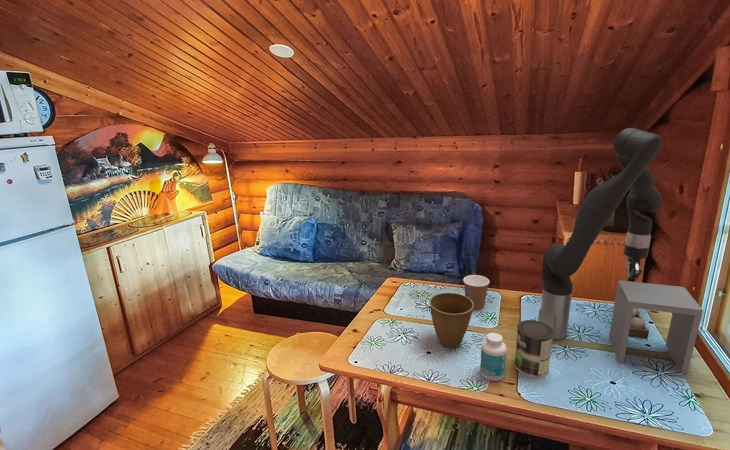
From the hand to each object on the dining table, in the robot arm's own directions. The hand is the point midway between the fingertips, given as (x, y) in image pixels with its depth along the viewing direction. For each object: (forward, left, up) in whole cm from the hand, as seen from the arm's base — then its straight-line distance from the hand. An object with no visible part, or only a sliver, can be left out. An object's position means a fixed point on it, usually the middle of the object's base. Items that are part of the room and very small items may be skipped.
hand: (630, 285), depth 149 cm
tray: (-10, -8, -11) cm, 17 cm away
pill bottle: (-72, 0, -11) cm, 73 cm away
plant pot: (-72, +20, -11) cm, 76 cm away
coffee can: (-59, -4, -11) cm, 60 cm away
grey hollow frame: (-23, -19, -11) cm, 32 cm away
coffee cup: (-47, +34, -11) cm, 59 cm away
